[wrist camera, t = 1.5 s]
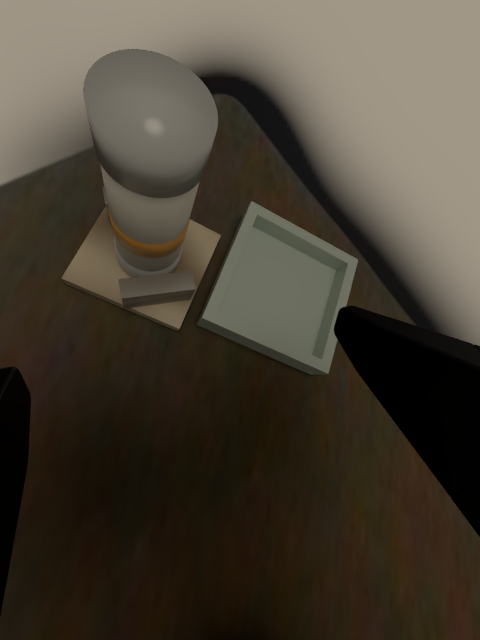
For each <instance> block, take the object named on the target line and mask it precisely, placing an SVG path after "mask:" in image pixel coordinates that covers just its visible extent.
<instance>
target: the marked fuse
mask: <svg viewBox="0 0 480 640" xmlns="http://www.w3.org/2000/svg"><path fill="white" fill-rule="evenodd" d="M83 92H84V101H85V105H86V110H87V115H88V120H89V125H90V130H91V134H92V139H93V144H94V149H95V153H96V156H97V158H98V161H99V162H100V165H101V170H102V175H103V180H104V185H105V191H106V196H107V201H108V212H109V217H110V222H111V227H112V231H113V233H114V246H115V251H116V256H117V260H118V263H119V265H120V267H121V269H122V270H123V271H124V272H125V273H126V274H127V275H128V276H129V277H131V278H132V277H142V276H151V275H160V274H169V273H174V272H175V270H176V269H177V267H178V264H179V260H180V257H181V253H182V248H183V241H184V239H185V236H186V232H187V229H188V225H189V222H190V214H191V211H192V207H193V203H194V200H195V196H196V193H197V189H198V185H199V182H200V180H201V179H202V177H203V175H204V172H205V169H206V166H207V162H208V159H209V155H210V152H211V148H212V145H213V141H214V138H215V134H216V131H217V126H218V113H217V108H216V105H215V102H214V100H213V97H212V95H211V93H210V92H209V90H208V88H207V87H206V86H205V85H204V83H203V82H202V81H201V80H200V79H199V78H198V76H196V75H195V74H194V73H193V72H192V71H191V70H189V69H188V68H187V67H185V66H184V65H182V64H181V63H179V62H178V61H176V60H174V59H172V58H170V57H167V56H165V55H162V54H159V53H156V52H152V51H147V50H139V49H127V50H119V51H116V52H112V53H110V54H107V55H105V56H103V57H102V58H100V59H99V60H98V61H96V62H95V63H94V64H93V65H92V67H91V68H90V69H89V71H88V73H87V75H86V78H85V82H84V89H83Z"/></svg>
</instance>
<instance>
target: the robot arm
mask: <svg viewBox="0 0 480 640" xmlns="http://www.w3.org/2000/svg"><path fill="white" fill-rule="evenodd" d="M334 334H335V336H336V338H337V339H338V341H339V343H340V344H341V346H342V348H343V349H344V351H345V353H346V354H347V356H348V358H349V359H350V361H351V363H352V364H353V366H354V367H355V369H356V371H357V372H358V373H359V375H360V376H361V378H362V379H363V380H364V382H365V383H366V384H367V386H368V387H369V388H370V390H371V391H372V392H373V394H374V395H375V396H376V398H377V399H378V400H379V402H380V403H381V404H382V406H383V407H384V409H385V410H386V411H387V413H388V414H389V415H390V417H391V418H392V419H393V421H394V422H395V423H396V425H397V426H398V427H399V429H400V430H401V431H402V433H403V434H404V435H405V437H406V438H407V439H408V441H409V442H410V443H411V445H412V446H413V447H414V449H415V450H416V451H417V453H418V454H419V456H420V457H421V458H422V460H423V461H424V462H425V464H426V465H427V466H428V468H429V469H430V470H431V472H432V473H433V474H434V476H435V477H436V478H437V480H438V481H439V482H440V484H441V485H442V486H443V488H444V489H445V490H446V492H447V493H448V494H449V496H450V497H451V499H452V500H453V502H454V503H455V504H456V506H457V507H458V508H459V510H460V511H461V512H462V514H463V515H464V516H465V518H466V519H467V520H468V522H469V523H470V524H471V526H472V527H473V528H474V530H475V531H476V532H477V534H478V535H479V537H480V346H478V345H473V344H471V343H468V342H465V341H462V340H459V339H455V338H453V337H450V336H446V335H443V334H440V333H437V332H434V331H431V330H427V329H424V328H421V327H418V326H415V325H412V324H409V323H406V322H403V321H399V320H396V319H393V318H390V317H387V316H384V315H381V314H378V313H374V312H371V311H368V310H365V309H362V308H359V307H356V306H346V307H342V308H340V310H339V311H338V315H337V318H336V322H335V325H334ZM30 409H31V397H30V392H29V390H28V388H27V386H26V384H25V381H24V379H23V377H22V375H21V373H20V371H19V370H18V369H17V368H16V367H7V368H2V369H0V615H1V610H2V604H3V599H4V593H5V588H6V582H7V576H8V571H9V565H10V560H11V554H12V549H13V543H14V538H15V532H16V527H17V521H18V515H19V510H20V504H21V499H22V493H23V488H24V482H25V477H26V471H27V464H28V453H29V431H30Z"/></svg>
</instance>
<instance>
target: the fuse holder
mask: <svg viewBox="0 0 480 640" xmlns="http://www.w3.org/2000/svg"><path fill="white" fill-rule="evenodd" d="M102 187H103V193H104V199H105V204H106V206H105V208H104V210H103V211H102V213H101V215H100V216H99V218H98V219H97V221H96V223H95V224H94V226H93V228H92V229H91V231H90V233H89V234H88V236H87V237H86V239H85V241H84V242H83V244H82V246H81V247H80V249H79V250H78V252H77V254H76V255H75V257H74V259H73V260H72V262H71V264H70V265H69V267H68V268H67V270H66V272H65V273H64V275H63V277H62V278H61V279H62V280H63V281H64V283H65V284H68V285H70V286H72V287H75V288H77V289H79V290H82V291H84V292H86V293H89V294H91V295H93V296H96V297H98V298H100V299H103V300H105V301H107V302H110V303H112V304H114V305H117V306H119V307H121V308H124V309H126V310H128V311H131V312H133V313H135V314H138V315H140V316H142V317H145V318H147V319H149V320H152V321H154V322H156V323H159V324H161V325H164V326H166V327H168V328H171V329H173V330H175V331H178V330H179V329H180V327H181V324H182V322H183V320H184V318H185V315H186V313H187V311H188V309H189V306H190V304H191V302H192V300H193V297H194V295H195V293H196V291H197V288H198V286H199V284H200V282H201V279H202V277H203V275H204V273H205V270H206V268H207V266H208V263H209V261H210V259H211V257H212V254H213V252H214V250H215V248H216V245H217V243H218V241H219V239H220V236H221V235H219V234H217V233H216V232H214V231H212V230H210V229H208V228H206V227H204V226H202V225H200V224H198V223H196V222H194V221H192V220H190V222H189V225H188V229H187V232H186V236H185V239H184V241H183V248H182V253H181V257H180V260H179V264H178V267H177V269H176V270H175V272H174V273H169V274H160V275H151V276H142V277H132V278H131V277H129V276H128V275H127V274H126V273H125V272H124V271H123V270H122V269H121V267H120V265H119V263H118V260H117V256H116V251H115V246H114V233H113V231H112V227H111V222H110V217H109V212H108V201H107V196H106V191H105V186H102Z"/></svg>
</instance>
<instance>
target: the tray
mask: <svg viewBox="0 0 480 640" xmlns="http://www.w3.org/2000/svg"><path fill="white" fill-rule="evenodd" d="M357 262H358V259H356V258H354V257H352V256H350V255H349V254H347V253H345V252H343V251H341V250H339V249H338V248H336V247H334V246H332V245H330V244H329V243H327V242H325V241H323V240H321V239H319V238H318V237H316V236H314V235H312V234H310V233H309V232H307V231H305V230H303V229H301V228H299V227H298V226H296V225H294V224H292V223H290V222H289V221H287V220H285V219H283V218H281V217H279V216H278V215H276V214H274V213H272V212H270V211H269V210H267V209H265V208H263V207H261V206H259V205H258V204H256V203H254V202H252V201H251V203H250V204H249V206H248V208H247V209H246V211H245V213H244V215H243V216H242V218H241V220H240V223H239V225H238V227H237V230H236V232H235V234H234V237H233V239H232V242H231V244H230V246H229V249H228V251H227V253H226V256H225V258H224V260H223V263H222V265H221V267H220V270H219V272H218V274H217V277H216V279H215V281H214V284H213V286H212V288H211V291H210V293H209V295H208V298H207V300H206V302H205V305H204V307H203V309H202V312H201V314H200V316H199V319H198V321H197V323H196V325H198V326H200V327H202V328H205V329H207V330H209V331H211V332H214V333H216V334H218V335H221V336H223V337H225V338H227V339H230V340H232V341H234V342H237V343H239V344H241V345H243V346H246V347H248V348H250V349H253V350H255V351H257V352H259V353H262V354H264V355H266V356H269V357H271V358H273V359H275V360H278V361H280V362H282V363H285V364H287V365H289V366H291V367H294V368H296V369H298V370H301V371H303V372H305V373H307V374H310V375H321V374H328V373H329V370H330V366H331V362H332V358H333V354H334V350H335V347H336V343H337V338H336V336H335V334H334V325H335V322H336V318H337V315H338V311H339V310H340V308H342V307H346V304H347V301H348V297H349V293H350V289H351V285H352V282H353V278H354V274H355V270H356V266H357Z"/></svg>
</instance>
